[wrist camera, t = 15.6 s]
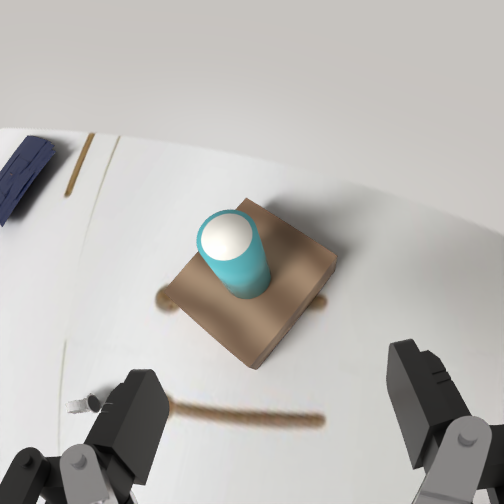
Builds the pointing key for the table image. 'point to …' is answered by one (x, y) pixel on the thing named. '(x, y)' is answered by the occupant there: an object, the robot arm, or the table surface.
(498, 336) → the table surface
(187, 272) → the wooden square base
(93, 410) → the wristwatch
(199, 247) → the tumbler
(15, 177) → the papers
